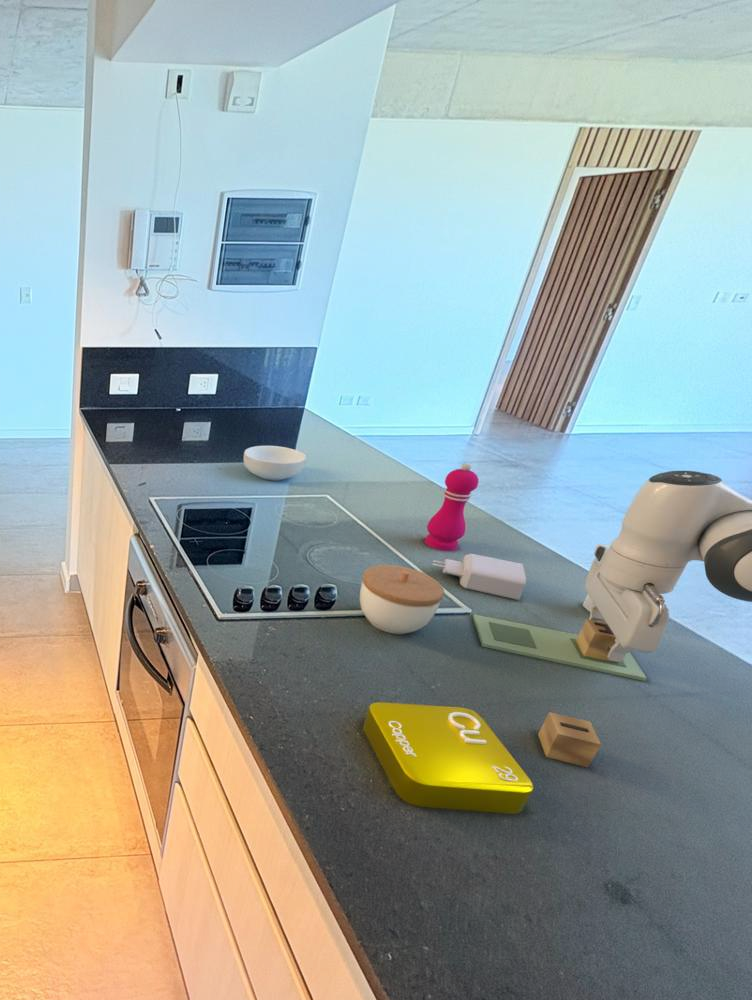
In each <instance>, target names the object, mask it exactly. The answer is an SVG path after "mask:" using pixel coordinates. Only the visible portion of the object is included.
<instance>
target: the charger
mask: <svg viewBox="0 0 752 1000" xmlns="http://www.w3.org/2000/svg"><path fill="white" fill-rule="evenodd" d="M432 562H433V563H432V566H434V567H438V568H442V573H443V574H445V575H446V574H447V575H451V576H456V577H459V585H460V586H461V587H462V588H464V589H467V590H471V591H476V592H480V593H485V594H489V595H492V596H498V597H502V598H505V599H511V600H514V601H515V600H516V601H519V600H520V599H521V597H522V594H523V591H524V589H525V588H526V587H525V586H526V583H527V577H526V572H525V568H524V564H523V563H520V562H516V561H515V562H514V561H511V560H510V561H509V560H506V559H500V558H495V557H490V556H485V555H480V554H476V553H468V554H465V555H464V556H463V560H462V561H459V560H454V559H450V558H445V559H444V561H439V560H435V559H434V560H432Z"/></svg>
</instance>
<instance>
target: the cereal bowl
mask: <svg viewBox="0 0 752 1000" xmlns="http://www.w3.org/2000/svg"><path fill="white" fill-rule="evenodd" d="M306 461H307V456H306V455H305V453H303V452H301V451H300V450H297V449H294V448H290V447H285V446H280V445H279V446H278V445H255V446H251V447H247V448H246V449H244V452H243V464H244V467H245V469H247V471H249V472H250V473H251V474H252V475H255V476H257V477H258V478H260V479H264V480H266V481H267V480H268V481H284V480H286V479H289V478H290V479H291V478H294V477H296V476H297V475H299V474H300V473H301V472H302V471H303V469H304V468H305V465H306Z"/></svg>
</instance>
